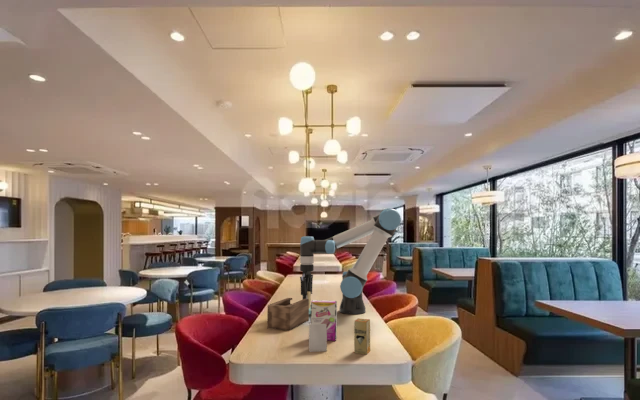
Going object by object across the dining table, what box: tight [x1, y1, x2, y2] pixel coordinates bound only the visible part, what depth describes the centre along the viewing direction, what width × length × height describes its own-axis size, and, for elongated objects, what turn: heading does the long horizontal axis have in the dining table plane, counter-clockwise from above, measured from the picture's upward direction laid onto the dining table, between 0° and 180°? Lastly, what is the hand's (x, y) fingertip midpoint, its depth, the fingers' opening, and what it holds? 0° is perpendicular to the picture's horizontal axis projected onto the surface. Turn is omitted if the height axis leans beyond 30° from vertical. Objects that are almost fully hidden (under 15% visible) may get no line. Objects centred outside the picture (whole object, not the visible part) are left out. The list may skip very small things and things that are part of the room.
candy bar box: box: [310, 299, 338, 342], centre depth 171 cm, size 11×5×16 cm, turn 84°
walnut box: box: [266, 297, 310, 331], centre depth 199 cm, size 12×23×11 cm, turn 159°
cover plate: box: [301, 291, 312, 315], centre depth 220 cm, size 9×20×11 cm, turn 159°
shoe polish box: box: [353, 318, 371, 355], centre depth 153 cm, size 5×5×12 cm
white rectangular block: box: [308, 323, 328, 353], centre depth 156 cm, size 4×7×10 cm, turn 96°
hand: (306, 306), depth 220 cm, fingers closed on cover plate, 3 cm apart
